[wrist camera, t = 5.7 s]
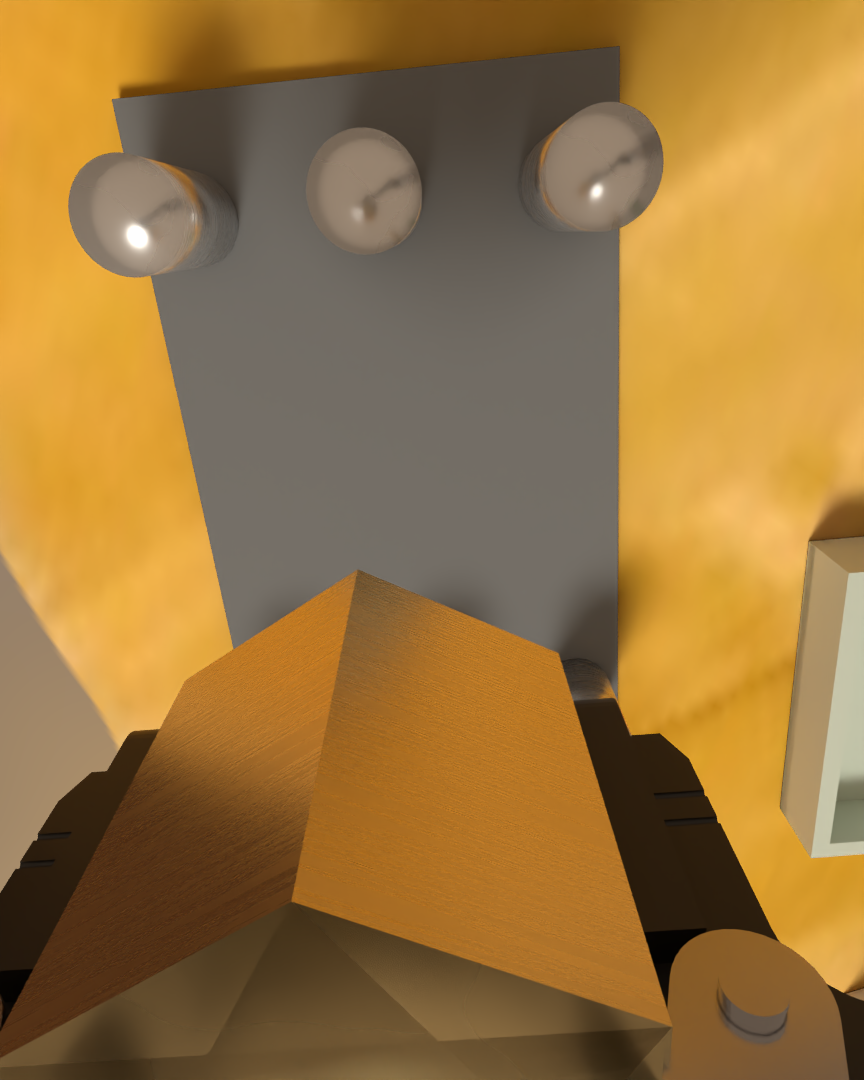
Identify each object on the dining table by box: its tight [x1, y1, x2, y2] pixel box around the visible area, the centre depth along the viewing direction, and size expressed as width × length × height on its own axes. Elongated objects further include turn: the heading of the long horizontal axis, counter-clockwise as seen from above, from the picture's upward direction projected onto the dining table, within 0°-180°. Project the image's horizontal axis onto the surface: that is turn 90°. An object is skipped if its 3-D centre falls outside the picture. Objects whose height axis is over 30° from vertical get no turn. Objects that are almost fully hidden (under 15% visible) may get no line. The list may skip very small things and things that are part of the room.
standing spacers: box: [68, 102, 663, 736], centre depth 21 cm, size 18×12×5 cm
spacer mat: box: [112, 46, 620, 699], centre depth 23 cm, size 22×13×1 cm, turn 5°
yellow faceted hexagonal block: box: [0, 569, 673, 1080], centre depth 8 cm, size 6×5×5 cm
